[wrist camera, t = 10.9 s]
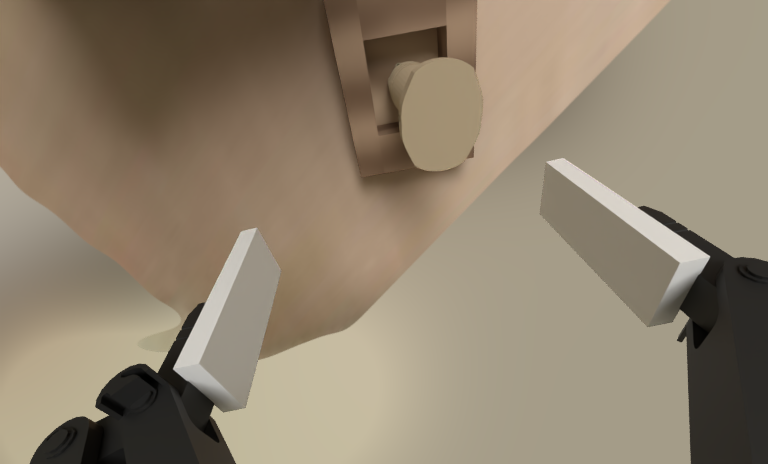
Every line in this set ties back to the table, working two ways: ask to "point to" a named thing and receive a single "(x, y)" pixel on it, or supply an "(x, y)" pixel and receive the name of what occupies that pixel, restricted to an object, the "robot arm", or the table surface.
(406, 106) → the handle
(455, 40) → the slot block
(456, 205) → the table surface
